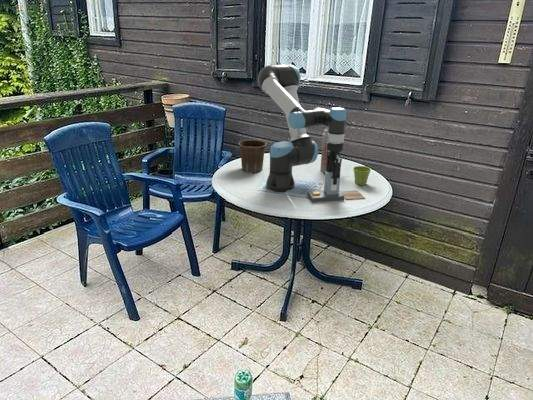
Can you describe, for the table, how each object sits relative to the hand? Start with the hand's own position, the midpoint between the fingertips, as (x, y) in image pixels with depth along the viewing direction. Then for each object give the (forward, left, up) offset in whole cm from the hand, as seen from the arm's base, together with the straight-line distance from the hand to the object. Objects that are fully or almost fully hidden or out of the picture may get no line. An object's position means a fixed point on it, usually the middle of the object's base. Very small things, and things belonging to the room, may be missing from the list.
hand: (331, 188), depth 193 cm
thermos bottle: (-40, +12, -6) cm, 42 cm away
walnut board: (0, +11, -6) cm, 12 cm away
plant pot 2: (-17, +23, -6) cm, 29 cm away
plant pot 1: (-50, -31, -6) cm, 59 cm away
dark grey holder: (0, -3, -6) cm, 6 cm away
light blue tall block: (0, 0, -4) cm, 4 cm away
